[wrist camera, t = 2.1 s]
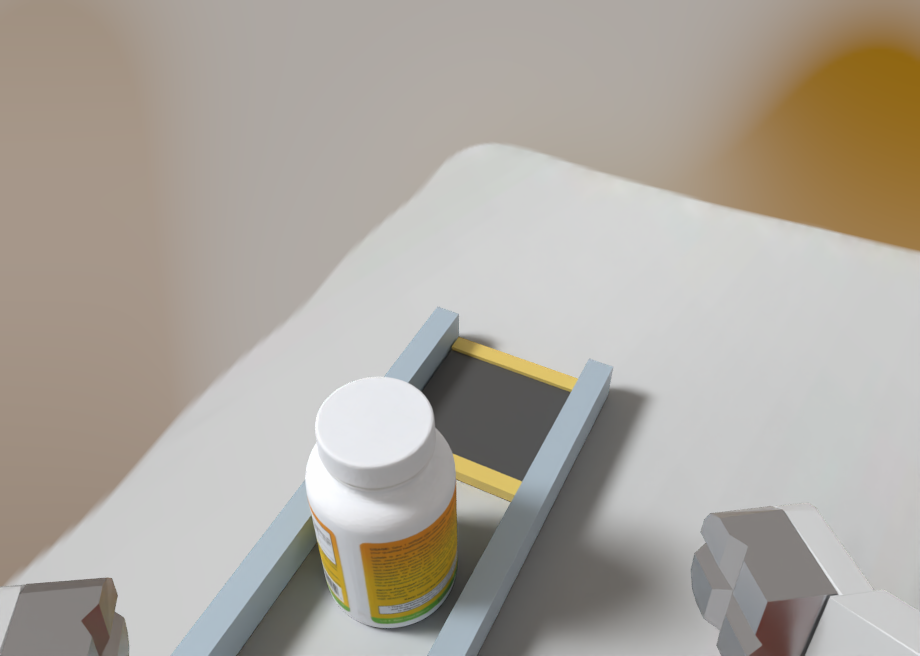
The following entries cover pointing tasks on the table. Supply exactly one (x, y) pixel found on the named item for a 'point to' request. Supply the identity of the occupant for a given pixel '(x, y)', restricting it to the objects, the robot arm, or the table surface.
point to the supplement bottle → (383, 502)
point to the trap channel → (476, 463)
